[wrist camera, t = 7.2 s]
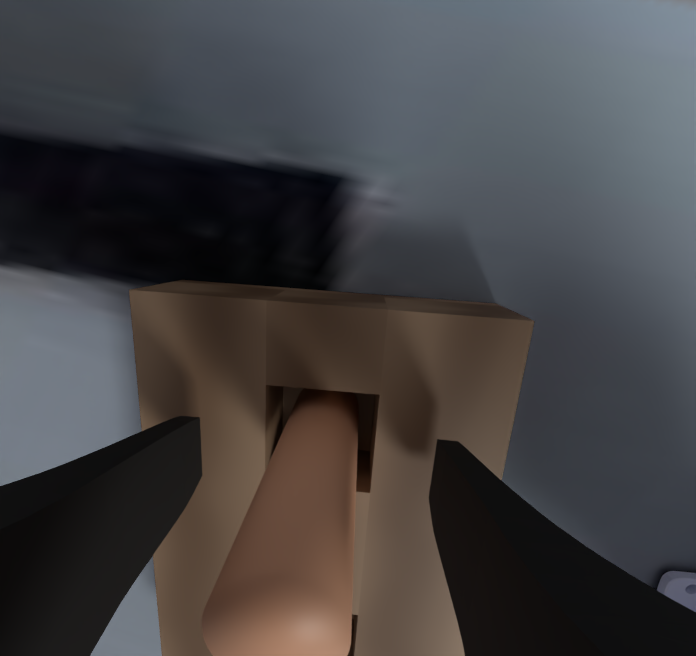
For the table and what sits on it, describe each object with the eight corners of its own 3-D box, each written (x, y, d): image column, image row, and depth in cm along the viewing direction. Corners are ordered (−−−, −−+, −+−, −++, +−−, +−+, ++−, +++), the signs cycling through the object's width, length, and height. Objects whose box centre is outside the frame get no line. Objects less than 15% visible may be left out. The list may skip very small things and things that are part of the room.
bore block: (496, 303, 13) (534, 321, 10) (433, 656, 17) (447, 741, 14) (182, 280, 13) (128, 289, 10) (200, 629, 17) (166, 706, 15)
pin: (361, 382, 13) (358, 582, 5) (355, 440, 14) (344, 696, 6) (297, 375, 13) (199, 565, 5) (294, 433, 14) (202, 679, 6)
